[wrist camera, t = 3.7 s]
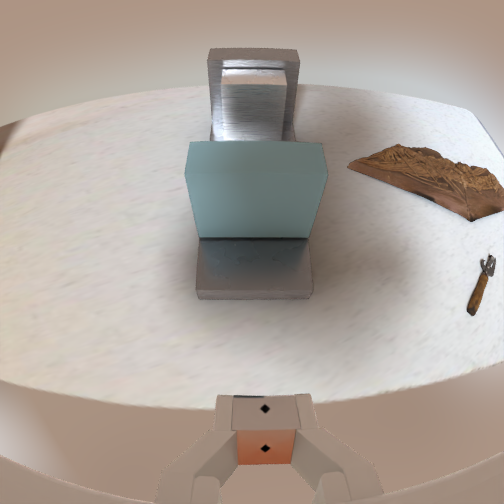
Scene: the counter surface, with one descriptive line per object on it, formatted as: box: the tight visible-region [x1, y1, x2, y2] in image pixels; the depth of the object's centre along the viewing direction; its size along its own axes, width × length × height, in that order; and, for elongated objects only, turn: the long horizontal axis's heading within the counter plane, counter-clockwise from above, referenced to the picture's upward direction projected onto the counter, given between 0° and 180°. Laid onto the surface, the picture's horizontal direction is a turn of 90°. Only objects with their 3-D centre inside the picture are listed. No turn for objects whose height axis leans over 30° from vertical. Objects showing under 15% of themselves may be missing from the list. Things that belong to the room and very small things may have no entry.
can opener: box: [467, 255, 496, 316], centre depth 27 cm, size 9×2×1 cm, turn 131°
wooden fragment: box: [347, 144, 504, 222], centre depth 33 cm, size 26×11×1 cm, turn 80°
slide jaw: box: [184, 141, 328, 238], centre depth 23 cm, size 3×9×8 cm, turn 91°
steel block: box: [221, 69, 287, 140], centre depth 30 cm, size 3×6×7 cm, turn 91°
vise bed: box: [196, 48, 313, 300], centre depth 27 cm, size 24×9×10 cm, turn 0°
